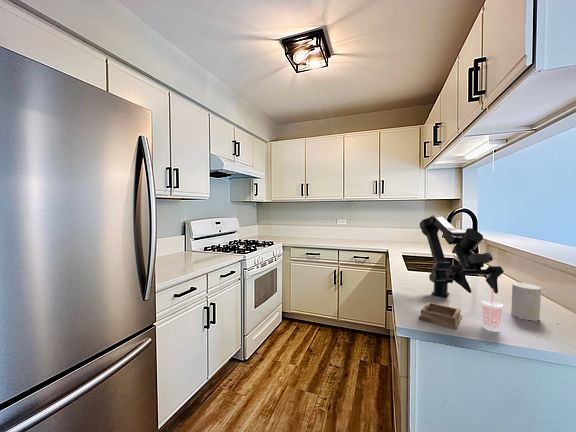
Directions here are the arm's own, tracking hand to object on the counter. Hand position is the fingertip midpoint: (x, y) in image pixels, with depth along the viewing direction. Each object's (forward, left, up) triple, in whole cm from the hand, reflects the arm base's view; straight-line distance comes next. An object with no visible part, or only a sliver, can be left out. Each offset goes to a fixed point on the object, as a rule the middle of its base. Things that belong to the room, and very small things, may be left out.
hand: (483, 292), depth 96 cm
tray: (+6, -12, -11) cm, 18 cm away
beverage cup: (+3, +3, -11) cm, 12 cm away
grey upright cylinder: (-18, +12, -11) cm, 24 cm away
